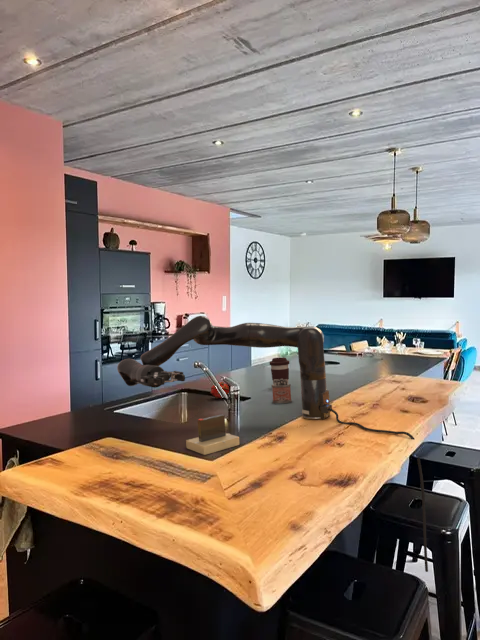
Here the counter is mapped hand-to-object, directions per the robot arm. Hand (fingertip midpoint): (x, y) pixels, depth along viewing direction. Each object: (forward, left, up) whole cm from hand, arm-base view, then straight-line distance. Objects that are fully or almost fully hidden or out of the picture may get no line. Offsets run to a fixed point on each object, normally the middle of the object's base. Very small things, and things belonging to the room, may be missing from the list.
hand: (173, 379), depth 157 cm
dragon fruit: (+25, -62, -20) cm, 70 cm away
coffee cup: (+10, -92, -20) cm, 95 cm away
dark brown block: (-15, +1, -17) cm, 23 cm away
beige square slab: (-15, +1, -20) cm, 25 cm away
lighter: (-6, -62, -20) cm, 66 cm away
